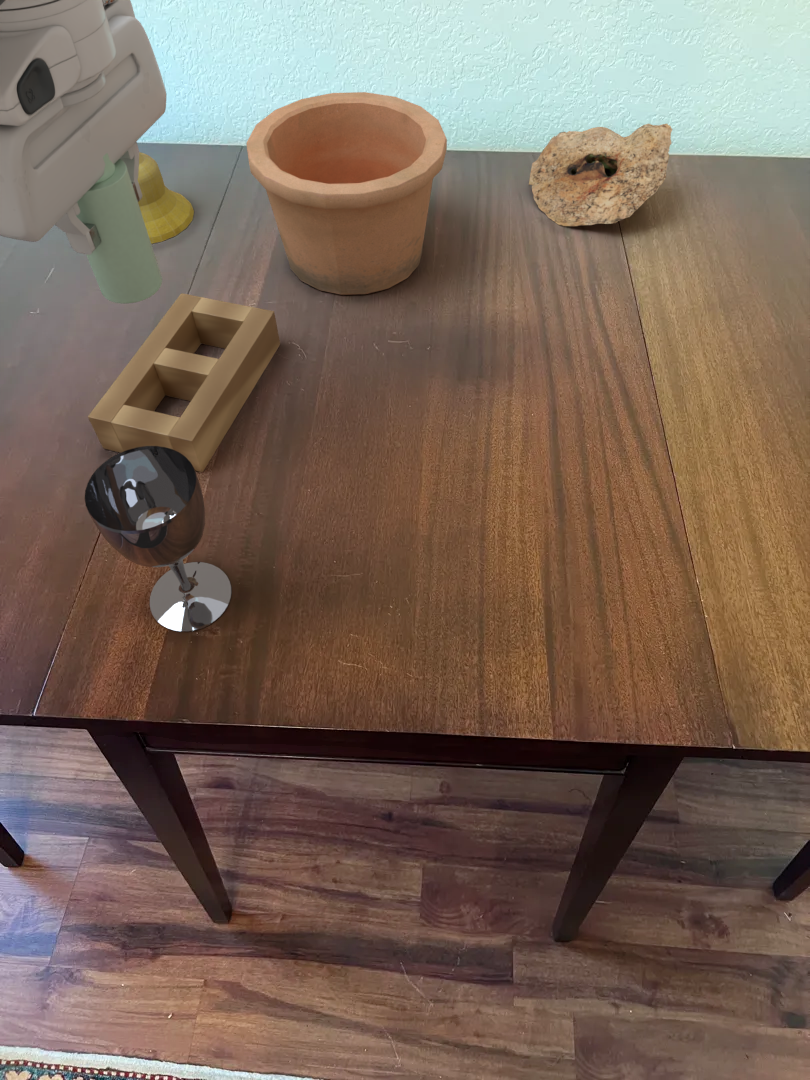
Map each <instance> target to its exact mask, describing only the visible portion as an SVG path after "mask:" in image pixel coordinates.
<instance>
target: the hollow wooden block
mask: <svg viewBox="0 0 810 1080" xmlns="http://www.w3.org/2000/svg"><path fill="white" fill-rule="evenodd" d="M279 335H280V334H279V329H278V324H277V318H276V314H275V311H274V310H270V309H266V308H259V307H255V306H249V305H244V304H239V303H234V302H228V301H225V300H224V301H223V300H218V299H214V298H207V297H203V296H198V295H193V294H187V293H183V292H182V293H180V294H179V296H178V297H177V298H176V299H175V301H174V302H173V303H172V305H170V307H169V309H168V310H167V311H166V313H165V314H164V315H163V317H162V318H161V319H160V320H159V321H158V323H157V324H156V326H155V327H154V329H153V330H152V331H151V332H150V334H149V335H148V336H147V337H146V339H145V341H144V342H143V343H142V344H141V346H140V347H139V348H138V350H137V351H136V352H135V354H134V355H133V356H132V358H131V359H130V360H129V361H128V363H127V364H126V365H125V366H124V368H123V370H122V371H121V372H120V373H119V375H118V376H117V377H116V378H115V380H114V381H113V383H112V384H111V385H110V387H109V388H108V389H107V390H106V391H105V393H104V394H103V396H102V397H101V398H100V400H99V401H98V403H96V405H95V407H94V408H93V409H92V411H91V412H90V413H89V414H88V415H87V418H88V420H89V422H90V424H91V426H92V428H93V431H94V433H95V435H96V437H97V439H98V442H99V444H100V446H101V447H102V449H104V450H108V451H112V452H117V453H121V452H124V451H126V450H129V449H133V448H137V447H143V446H160V447H166V448H170V449H173V450H175V451H177V452H179V453H181V454H182V455H184V456H185V457H186V458H187V459H188V460H189V461H190V462H191V464H192V466H193V467H194V469H195V471H196V472H200V473H204V471H205V470H206V468H207V466H208V465H209V463H210V461H211V459H212V458H213V456H214V455H215V453H216V451H217V450H218V448H219V446H220V445H221V443H222V441H223V440H224V438H225V436H226V435H227V433H228V432H229V430H230V428H231V427H232V425H233V423H234V422H235V421H236V418H237V416H238V415H239V413H240V412H241V410H242V408H243V406H244V405H245V404H246V402H247V400H248V398H249V397H250V395H251V394H252V391H253V390H254V388H255V387H256V385H257V384H258V382H259V381H260V379H261V377H262V375H263V374H264V372H265V371H266V369H267V367H268V366H269V363H270V362H271V360H272V359H273V357H274V355H275V354H276V352H277V350H278V348H279V347H280V345H281V340H280V336H279ZM201 345H205V346H210V347H216V348H220V349H224V350H223V352H222V353H221V355H220V356H219V358H216V357H211V356H206V355H201V354H198V353H197V354H196V352H197V351H198V349H199V347H200V346H201ZM165 397H170V398H175V399H179V400H184V401H187V402H188V401H189V403H188V405H187V407H186V408H185V410H184V411H183V413H181V416H180V417H179V416H175V415H171V414H167V413H162V412H158V411H156V409H157V408H158V406H159V405H160V404H161V402H162V401H163V399H164V398H165Z"/></svg>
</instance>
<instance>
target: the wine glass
mask: <svg viewBox="0 0 810 1080" xmlns="http://www.w3.org/2000/svg"><path fill="white" fill-rule="evenodd" d="M84 503H85V504H84V505H85V507H86V510H87V512H88V514H89V516H90V518H91V520H92V521H93V524H94V525H95V527H96V529H97V530H98V531H99V532H100V534H101V535H102V537H103V538H104V539H105V541H106V542H107V543H108V544H109V545H110V546H111V547H112V548H113V549H114V550H115V551H116V552H117V553H118V554H120V555H121V556H122V557H123V558H125V559H126V560H127V561H130V562H132V563H133V564H135V565H139V566H141V567H147V568H164V567H168V568H169V569H170V570H168V571H166V572H165V573H163V575H161V576H160V578H158V580H157V581H156V583H155V584H154V586H153V587H152V590H151V593H150V596H149V610H150V614H151V615H152V617H153V619H154V620H155V621H156V622H157V623H158V624H159V625H160V626H161V627H164V628H165V629H166V630H170V631H173V632H179V633H188V632H197V631H200V630H202V629H205V628H207V627H209V626H210V625H212V624H213V623H215V622H216V621H218V620H219V619H220V618H221V616H223V614H225V612H226V611H227V609H228V607H229V606H230V602H231V599H232V593H233V590H232V588H233V587H232V583H231V580H230V578H229V577H228V575H227V574H226V573H225V572H224V571H223V570H222V569H221V568H220V567H218V566H216V565H214V564H211V563H209V562H203V561H192V562H186V563H184V559H186V558H187V557H188V556H189V555H191V554H192V553H193V551H195V549H196V548H197V547H198V545H199V544H200V542H201V540H202V539H203V535H204V531H205V525H206V506H205V498H204V494H203V490H202V487H201V483H200V479H199V477H198V474H197V471H195V469H194V467H193V466H192V464H191V462H190V461H189V460H188V459H187V458H186V457H185V456H184V455H182V454H181V453H179V452H177V451H175V450H173V449H170V448H166V447H160V446H143V447H137V448H133V449H129V450H126V451H124V452H121V453H120V452H118V453H117V454H115V455H113V456H111V457H109V458H108V459H107V460H105V461H104V462H103V463H102V464H100V466H99V467H97V468H96V469H95V471H94V472H93V474H92V475H91V476H90V478H89V480H88V481H87V484H86V487H85V490H84Z"/></svg>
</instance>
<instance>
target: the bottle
mask: <svg viewBox="0 0 810 1080" xmlns="http://www.w3.org/2000/svg"><path fill="white" fill-rule="evenodd" d="M103 160H104V162H105V169H104V174H103V176H102V177H101V178H100V179H99V180H98V181H97V182H96V183H95V184H94V185H93V186H92V187H91V188H90V189H89V190H88V191H87V192H86V193H85V194H84V195H83V196H82V197H81V198H80V199H79V200H78V201H77V203H78V206H79V209H80V213H79V214H78V215H76V217H77V218H78V219H79V220H80V221H81V222H83V223H84V224H85V223H89V224H95V225H96V228H97V231H98V236H99V237H100V239H101V244H100V245H99V246H98V247H97V248H96V249H95V250H94V251H93V253H92V254H91V255H87V254H85V255H86V257H87V260H88V263H89V265H90V268H91V270H92V273H93V276H94V278H95V280H96V283H97V286H98V287H99V290H100V293H101V295H102V297H104V298H105V299H106V300H107V301H109V302H111V303H115V304H119V305H120V304H121V305H126V304H135V303H139V302H142V301H145V300H147V299H149V298H151V297H152V296H154V295H155V294H156V293H157V292H158V291H159V290H160V289H161V287H162V284H163V277H162V273H161V270H160V267H159V264H158V261H157V257H156V254H155V251H154V248H153V245H152V244H151V242H150V239H149V235H148V232H147V229H146V226H145V223H144V220H143V217H142V214H141V210H140V207H139V204H138V201H137V198H136V195H135V192H134V188H133V185H132V182H131V179H130V176H129V173H128V170H127V167H126V164H125V163H124V162H123V161H122V160H121V159H119V160H118V161H117V162H116V163H115V164H113V163H112V161H111V160H110V159H109V156H108V153H106V154H105V155H104V156H103Z"/></svg>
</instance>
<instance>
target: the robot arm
mask: <svg viewBox="0 0 810 1080" xmlns="http://www.w3.org/2000/svg"><path fill="white" fill-rule="evenodd" d="M166 108H167V88H166V86H165V82H164V79H163V75H162V73H161V70H160V66H159V63H158V60H157V58H156V55H155V51H154V49H153V47H152V44H151V42H150V39H149V37H148V34H147V31H146V30H145V28H144V27H143V25H142V23H141V21H140V20H138V18H136V15H135V12H134V8H133V4H132V1H131V0H0V237H4V238H7V239H12V240H17V241H23V242H29V243H37V242H39V241H40V240H41V239H43V238H44V237H45V235H47V233H48V232H49V231H50V230H51V229H52V228H54V226H55V227H56V228H58V229H59V230H61V231H62V232H63V233H65V235H66V238H67V240H68V243H69V245H70V248H71V249H72V250H73V251H74V252H76V254H83V255H86V254H87V255H91V254H92V253H93V251H94V250H95V249H96V248H97V247H98V246H99V245H100V244H101V239H100V237H99V236H98V231H97V228H96V225H95V224H89V223H85V224H84V223H83V222H81V221H80V220H79V219H78V218H77V217H76V215H78V214H79V213H80V209H79V206H78V203H77V201H78V200H79V199H80V198H81V197H82V196H83V195H84V194H85V193H86V192H87V191H88V190H89V189H90V188H91V187H92V186H93V185H94V184H95V183H96V182H97V181H98V180H99V179H100V178H101V177H102V176H103V174H104V169H105V162H104V160H103V156H104V155H105V154H106V153H108V156H109V159H110V160H111V161H112V163H113V164H115V163H116V162H117V161H118V160H119V159H121V160H122V161H123V162H124V163H125V164H126V167H127V170H128V173H129V176H130V179H131V182H132V185H133V188H134V192H135V195H136V198H137V201H138V202H139V200H140V199H141V198H142V192H141V189H140V186H139V183H138V171H139V152H140V149H139V145H138V141H139V139H140V138H142V137H143V136H144V135H145V133H146V132H148V131H149V129H151V127H152V126H153V125H154V124H155V123H156V122H157V121H158V120H159V119H160V118H161V117H163V115H164V114H165V113H166ZM87 255H86V256H87Z"/></svg>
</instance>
